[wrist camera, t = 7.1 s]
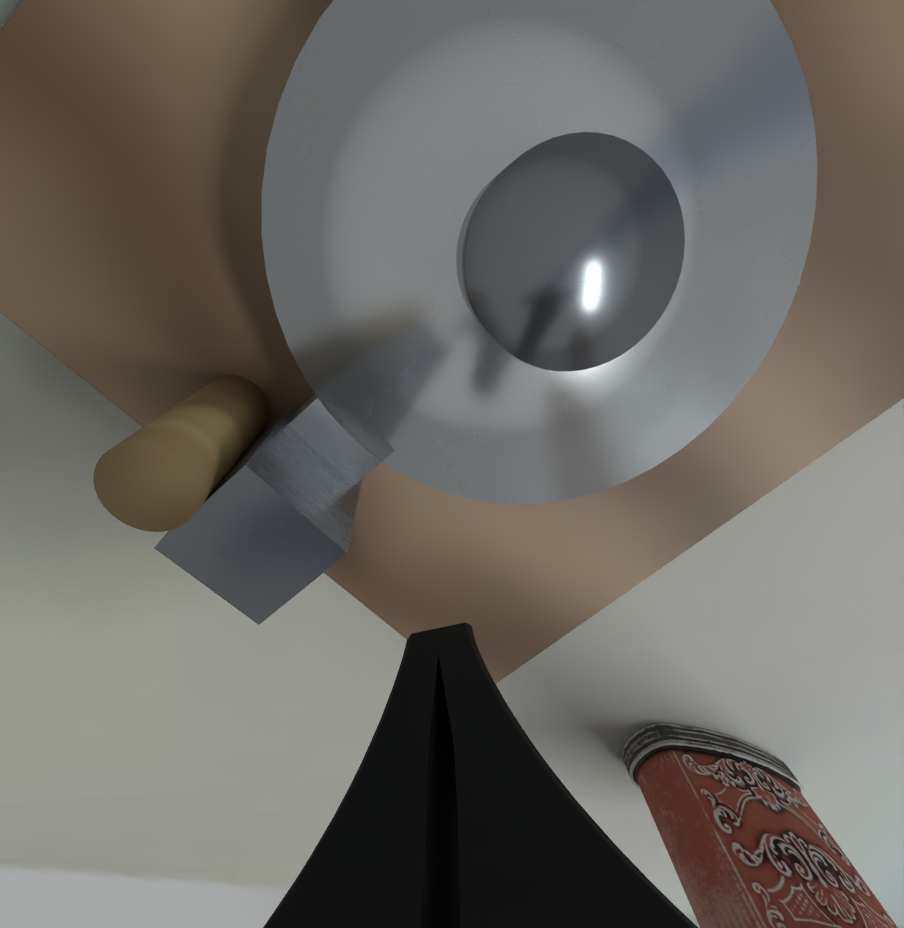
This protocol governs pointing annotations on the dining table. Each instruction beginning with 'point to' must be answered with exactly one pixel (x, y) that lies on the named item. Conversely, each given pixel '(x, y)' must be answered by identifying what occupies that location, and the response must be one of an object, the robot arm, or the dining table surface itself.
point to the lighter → (745, 834)
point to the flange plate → (424, 159)
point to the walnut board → (277, 373)
